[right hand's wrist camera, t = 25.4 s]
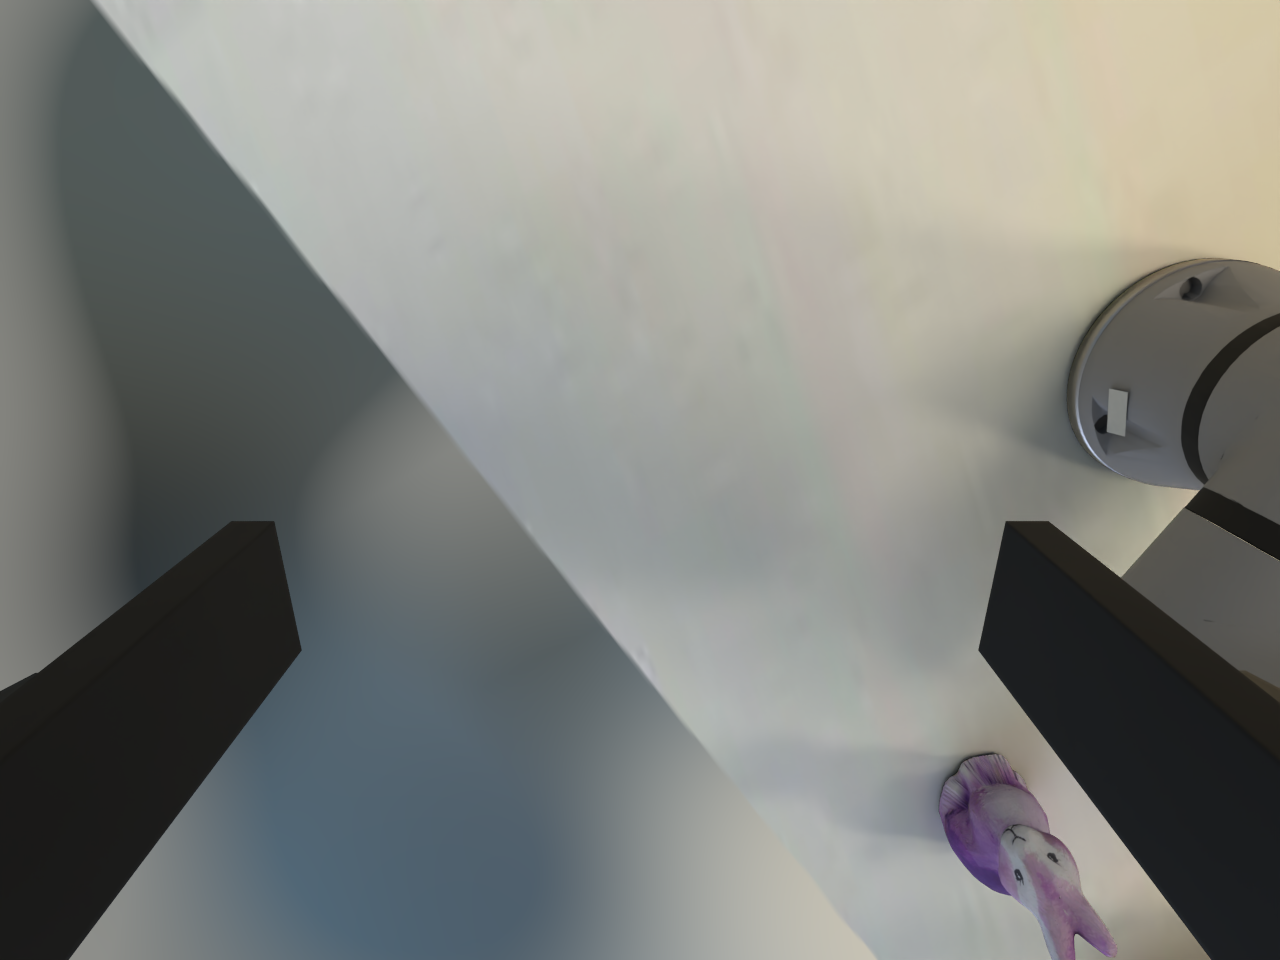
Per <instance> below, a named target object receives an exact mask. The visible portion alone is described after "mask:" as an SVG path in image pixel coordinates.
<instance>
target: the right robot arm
mask: <svg viewBox="0 0 1280 960" xmlns="http://www.w3.org/2000/svg"><path fill="white" fill-rule="evenodd" d="M1067 408H1068V414H1069V420H1070V423H1071V426H1072V429H1073V431H1074V433H1075V435H1076V437H1077V439H1078V441H1079V442H1080V444H1081V445H1082V447H1083V448H1084V449H1085V450H1086V451H1087V453H1089V454H1090V455H1091V456H1092V457H1093V458H1094V459H1095V460H1097V461H1098V462H1099V463H1101V464H1102V465H1104V466H1106V467H1108V468H1109V469H1111V470H1113V471H1115V472H1116V473H1118V474H1120V475H1122V476H1125V477H1127V478H1130V479H1133V480H1136V481H1139V482H1142V483H1146V484H1150V485H1156V486H1164V487H1173V488H1183V489H1192V490H1200V491H1199V492H1198V493H1197V494H1196V495H1195V497H1194V498H1193V499H1192V500H1191V501H1190V502H1189V503H1188V505H1187V506H1186V507H1185V508H1183V509H1182V510H1181V511H1180V512H1179V514H1178V515H1177V516H1176V517H1175V518H1174V519H1173V520H1172V521H1171V523H1170V524H1169V525H1168V526H1167V527H1166V528H1165V529H1164V530H1163V531H1162V533H1161V534H1160V535H1159V536H1158V537H1157V538H1156V539H1155V540H1154V542H1153V543H1152V544H1151V545H1150V546H1149V547H1148V548H1147V549H1146V550H1145V552H1144V553H1143V554H1142V555H1141V556H1140V557H1139V558H1138V559H1137V560H1136V562H1135V563H1134V564H1133V565H1132V566H1131V567H1130V568H1129V569H1128V571H1127V572H1126V573H1125V574H1124V575H1123V576H1122V577H1121V578H1120V577H1119V576H1118V575H1116V574H1115V573H1114V572H1112V571H1111V570H1110V569H1109V568H1107V567H1106V566H1105V565H1104V564H1102V563H1101V562H1100V561H1098V560H1097V559H1096V558H1095V557H1093V556H1092V555H1091V554H1090V553H1088V552H1087V551H1086V550H1084V549H1083V548H1082V547H1081V546H1079V545H1078V544H1077V543H1076V542H1074V541H1073V540H1072V539H1070V538H1069V537H1068V536H1067V535H1065V534H1064V533H1063V532H1061V531H1060V530H1059V529H1058V528H1056V527H1055V526H1054V525H1053V524H1051V523H1050V522H1049V521H1006V523H1005V527H1004V532H1003V537H1002V542H1001V546H1000V551H999V556H998V560H997V565H996V570H995V574H994V579H993V584H992V589H991V593H990V598H989V603H988V607H987V612H986V617H985V621H984V626H983V631H982V636H981V640H980V645H979V652H980V653H981V654H982V656H983V657H984V658H985V660H986V661H987V662H988V664H989V665H990V666H991V668H992V669H993V670H994V672H995V673H996V674H997V676H998V677H999V678H1000V680H1001V681H1002V682H1003V684H1004V685H1005V686H1006V688H1007V689H1008V690H1009V692H1010V693H1011V694H1012V696H1013V697H1014V698H1015V700H1016V701H1017V702H1018V704H1019V705H1020V706H1021V708H1022V709H1023V710H1024V712H1025V713H1026V714H1027V716H1028V717H1029V718H1030V720H1031V721H1032V722H1033V724H1034V725H1035V726H1036V727H1037V729H1038V730H1039V731H1040V733H1041V734H1042V735H1043V737H1044V738H1045V739H1046V741H1047V742H1048V743H1049V745H1050V746H1051V747H1052V749H1053V750H1054V751H1055V753H1056V754H1057V755H1058V757H1059V758H1060V759H1061V761H1062V762H1063V763H1064V765H1065V766H1066V767H1067V769H1068V770H1069V771H1070V773H1071V774H1072V775H1073V777H1074V778H1075V779H1076V781H1077V782H1078V783H1079V785H1080V786H1081V787H1082V789H1083V790H1084V791H1085V793H1086V794H1087V795H1088V797H1089V798H1090V799H1091V801H1092V802H1093V803H1094V805H1095V806H1096V807H1097V808H1098V810H1099V811H1100V812H1101V814H1102V815H1103V816H1104V818H1105V819H1106V820H1107V822H1108V823H1109V824H1110V826H1111V827H1112V828H1113V830H1114V831H1115V832H1116V834H1117V835H1118V836H1119V838H1120V839H1121V840H1122V842H1123V843H1124V844H1125V846H1126V847H1127V848H1128V850H1129V851H1130V852H1131V854H1132V855H1133V856H1134V858H1135V859H1136V860H1137V862H1138V863H1139V864H1140V866H1141V867H1142V868H1143V870H1144V871H1145V872H1146V874H1147V875H1148V876H1149V878H1150V879H1151V880H1152V882H1153V883H1154V884H1155V886H1156V887H1157V888H1158V890H1159V891H1160V892H1161V893H1162V895H1163V896H1164V897H1165V899H1166V900H1167V901H1168V903H1169V904H1170V905H1171V907H1172V908H1173V909H1174V911H1175V912H1176V913H1177V915H1178V916H1179V917H1180V919H1181V920H1182V921H1183V923H1184V924H1185V925H1186V927H1187V928H1188V929H1189V931H1190V932H1191V933H1192V935H1193V936H1194V937H1195V939H1196V940H1197V941H1198V943H1199V944H1200V945H1201V947H1202V948H1203V949H1204V951H1205V952H1206V953H1207V955H1208V956H1209V957H1210V959H1211V960H1280V271H1278V270H1275V269H1272V268H1270V267H1267V266H1263V265H1260V264H1257V263H1253V262H1248V261H1241V260H1231V259H1221V258H1207V259H1197V260H1192V261H1187V262H1182V263H1179V264H1176V265H1172V266H1170V267H1167V268H1164V269H1162V270H1160V271H1158V272H1155V273H1153V274H1151V275H1149V276H1148V277H1146V278H1144V279H1142V280H1141V281H1139V282H1137V283H1136V284H1135V285H1133V286H1132V287H1130V288H1129V289H1127V290H1126V291H1125V292H1124V293H1122V294H1121V295H1120V296H1119V297H1118V298H1116V299H1115V300H1114V301H1113V302H1112V303H1111V304H1110V305H1109V306H1108V307H1107V308H1106V309H1105V310H1104V312H1103V313H1102V314H1101V315H1100V316H1099V317H1098V319H1097V320H1096V321H1095V322H1094V324H1093V325H1092V326H1091V328H1090V330H1089V331H1088V333H1087V334H1086V336H1085V337H1084V339H1083V341H1082V343H1081V345H1080V347H1079V349H1078V351H1077V354H1076V356H1075V358H1074V361H1073V364H1072V367H1071V371H1070V375H1069V380H1068V388H1067ZM1189 510H1190V511H1189ZM1198 515H1199V516H1198ZM1200 516H1201V517H1200ZM1202 517H1203V518H1202ZM1204 518H1205V519H1206V520H1205V519H1204ZM1207 520H1208V521H1207ZM1209 521H1210V522H1209ZM1211 522H1212V523H1211ZM1213 523H1214V524H1216V525H1218V526H1219V527H1218V526H1216V525H1214V524H1213ZM1220 527H1221V528H1223V529H1224V530H1223V529H1221V528H1220ZM1225 530H1226V531H1225ZM1227 531H1228V532H1230V533H1231V534H1230V533H1228V532H1227ZM1232 534H1233V535H1232ZM1234 535H1235V536H1234ZM1236 536H1237V537H1239V538H1241V539H1242V540H1241V539H1239V538H1237V537H1236ZM1243 540H1244V541H1246V542H1248V543H1249V544H1248V543H1246V542H1244V541H1243ZM1250 544H1251V545H1250ZM1252 545H1253V546H1254V547H1253V546H1252ZM1255 547H1256V548H1255ZM1257 548H1258V549H1257ZM1259 549H1260V550H1261V551H1260V550H1259ZM1262 551H1263V552H1262ZM1264 552H1265V553H1264ZM1266 553H1267V554H1269V555H1271V556H1272V557H1271V556H1269V555H1267V554H1266ZM1273 557H1274V558H1273ZM1275 558H1276V559H1278V560H1279V561H1278V560H1276V559H1275ZM300 652H301V645H300V640H299V636H298V631H297V626H296V622H295V617H294V612H293V607H292V603H291V598H290V593H289V589H288V584H287V579H286V574H285V570H284V565H283V560H282V556H281V551H280V546H279V542H278V537H277V532H276V528H275V523H274V521H232V522H230V523H229V524H227V525H226V526H225V527H224V528H222V529H221V530H220V531H219V532H217V533H216V534H215V535H213V536H212V537H211V538H210V539H208V540H207V541H206V542H205V543H203V544H202V545H201V546H199V547H198V548H197V549H196V550H194V551H193V552H192V553H191V554H189V555H188V556H187V557H185V558H184V559H183V560H182V561H180V562H179V563H178V564H177V565H175V566H174V567H173V568H171V569H170V570H169V571H168V572H166V573H165V574H164V575H163V576H161V577H160V578H159V579H157V580H156V581H155V582H153V583H152V584H151V585H150V586H148V587H147V588H146V589H145V590H143V591H142V592H141V593H140V594H138V595H137V596H136V597H134V598H133V599H132V600H131V601H129V602H128V603H127V604H125V605H124V606H123V607H122V608H120V609H119V610H118V611H117V612H115V613H114V614H113V615H111V616H110V617H109V618H108V619H106V620H105V621H104V622H102V623H101V624H100V625H99V626H97V627H96V628H95V629H94V630H92V631H91V632H90V633H88V634H87V635H86V636H85V637H83V638H82V639H81V640H80V641H78V642H77V643H76V644H74V645H73V646H72V647H71V648H69V649H68V650H67V651H66V652H64V653H63V654H62V655H60V656H59V657H58V658H57V659H55V660H54V661H53V662H52V663H50V664H49V665H48V666H46V667H45V668H44V669H43V670H41V671H40V672H39V673H34V674H32V675H31V676H29V677H27V678H25V679H23V680H21V681H19V682H17V683H15V684H13V685H11V686H9V687H7V688H6V689H4V690H2V691H0V960H69V959H70V957H71V956H72V955H73V953H74V952H75V951H76V949H77V948H78V947H79V945H80V944H81V943H82V941H83V940H84V939H85V937H86V936H87V935H88V933H89V932H90V931H91V929H92V928H93V927H94V925H95V924H96V923H97V921H98V920H99V919H100V917H101V916H102V915H103V913H104V912H105V911H106V909H107V908H108V907H109V905H110V904H111V903H112V901H113V900H114V899H115V897H116V896H117V895H118V893H119V892H120V891H121V890H122V888H123V887H124V886H125V884H126V883H127V882H128V880H129V879H130V877H131V876H132V875H133V873H134V872H135V871H136V870H137V868H138V867H139V866H140V864H141V863H142V861H143V860H144V859H145V858H146V856H147V855H148V854H149V852H150V851H151V850H152V848H153V847H154V846H155V844H156V843H157V842H158V840H159V839H160V838H161V836H162V835H163V834H164V832H165V831H166V830H167V828H168V827H169V826H170V824H171V823H172V822H173V820H174V819H175V818H176V816H177V815H178V814H179V812H180V811H181V810H182V808H183V807H184V806H185V805H186V803H187V802H188V801H189V799H190V798H191V797H192V795H193V794H194V792H195V791H196V790H197V789H198V787H199V786H200V785H201V783H202V782H203V781H204V779H205V778H206V777H207V775H208V774H209V773H210V771H211V770H212V769H213V767H214V766H215V765H216V763H217V762H218V761H219V759H220V758H221V757H222V755H223V754H224V753H225V751H226V750H227V749H228V747H229V746H230V745H231V743H232V742H233V741H234V739H235V738H236V737H237V735H238V734H239V733H240V731H241V730H242V729H243V727H244V726H245V725H246V723H247V722H248V721H249V719H250V718H251V717H252V716H253V714H254V713H255V712H256V710H257V709H258V708H259V706H260V705H261V704H262V702H263V701H264V700H265V698H266V697H267V696H268V694H269V693H270V692H271V690H272V689H273V688H274V686H275V685H276V684H277V682H278V681H279V680H280V678H281V677H282V676H283V674H284V673H285V672H286V670H287V669H288V668H289V666H290V665H291V664H292V662H293V661H294V660H295V658H296V657H297V656H298V654H299V653H300Z"/></svg>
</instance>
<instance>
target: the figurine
mask: <svg viewBox="0 0 1280 960" xmlns="http://www.w3.org/2000/svg"><path fill="white" fill-rule="evenodd" d="M942 790H943V791H942V793H941V797H940V804H939V813H940V816H941V820H942V823H943V826H944V830H945V833H946V835H947V838H948V841H949V843H950V845H951V847H952V849H953V851H954V852H955V854H956V855H957V857H958V858H959V859H960V861H961V862H962V863H963V864H964V866H965V867H966V868H967V869H968V870H969V871H970V873H971V874H972V875H973V876H974V877H975V878H977V879H978V880H979V881H980V882H981V883H983V884H984V885H986V886H987V887H989V888H990V889H992V890H994V891H996V892H999V893H1002V894H1006V895H1011V896H1013V897H1014V898H1015V899H1016V900H1017V901H1018V902H1020V903H1021V904H1022V905H1024V906H1025V907H1026V908H1027V909H1029V910H1030V911H1031V912H1032V913H1033V914H1034V915H1035V917H1036V918H1037V919H1038V922H1039V924H1040V926H1041V929H1042V932H1043V935H1044V938H1045V941H1046V945H1047V948H1048V950H1049V953H1050V955H1051V958H1052V960H1075V949H1074V936H1075V934H1079V935H1080V936H1081V937H1082V938H1084V939H1085V940H1086V941H1087V942H1089V943H1090V944H1091V945H1092V946H1094V947H1095V948H1096V949H1098V950H1099V951H1100V952H1102V953H1103V954H1104V955H1106V956H1108V957H1115V956H1116V954H1117V945H1116V943H1115V941H1114V938H1113V937H1112V936H1111V934H1110V931H1109V930H1108V928H1107V927H1106V926H1105V924H1104V923H1103V921H1102V920H1101V919H1100V917H1099V916H1098V914H1097V913H1096V912H1095V910H1094V909H1093V908H1092V907H1091V905H1090V904H1089V902H1088V901H1087V899H1086V898H1085V897H1084V895H1083V892H1082V890H1081V883H1080V877H1079V872H1078V868H1077V865H1076V863H1075V860H1074V858H1073V856H1072V854H1071V853H1070V851H1069V850H1068V848H1067V847H1066V846H1065V845H1064V844H1063V843H1062V842H1061V841H1060V840H1059V839H1058V838H1056V837H1055V836H1053V835H1051V834H1050V831H1049V825H1048V819H1047V816H1046V814H1045V812H1044V811H1043V809H1042V807H1041V806H1040V804H1039V803H1038V801H1037V800H1036V798H1035V797H1034V796H1033V795H1032V794H1031V793H1030V792H1029V791H1028V789H1027V787H1026V784H1025V782H1024V779H1023V778H1022V777H1021V776H1020V775H1019V774H1018V773H1017V772H1016V771H1013V770H1012V769H1011V767H1010V765H1009V762H1008V761H1007V760H1006V758H1004V757H1003V756H1002V755H997V754H992V755H985V756H979V757H973V758H971V759H968V760H967V761H964V762H963V763H962V764H961V766H960V768H959V770H958V772H957V773H956V774H955V775H954V776H951V777H950V778H949V779H948V780H947V781H946V782H945V785H944V786H943V789H942Z"/></svg>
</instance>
